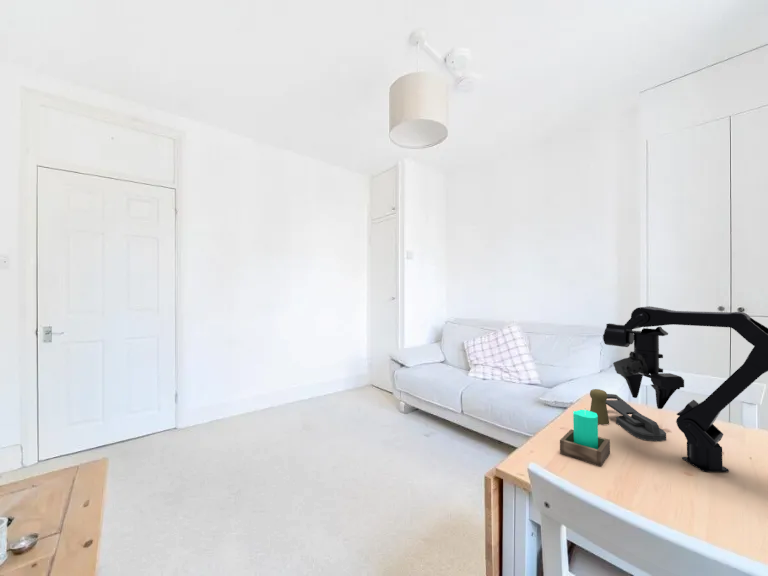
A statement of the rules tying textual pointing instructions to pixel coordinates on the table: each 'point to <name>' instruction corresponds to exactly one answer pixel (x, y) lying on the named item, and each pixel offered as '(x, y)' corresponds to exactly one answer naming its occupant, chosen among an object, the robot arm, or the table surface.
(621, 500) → the table surface
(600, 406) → the cork
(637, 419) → the zipper pull
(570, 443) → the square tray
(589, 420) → the candle
